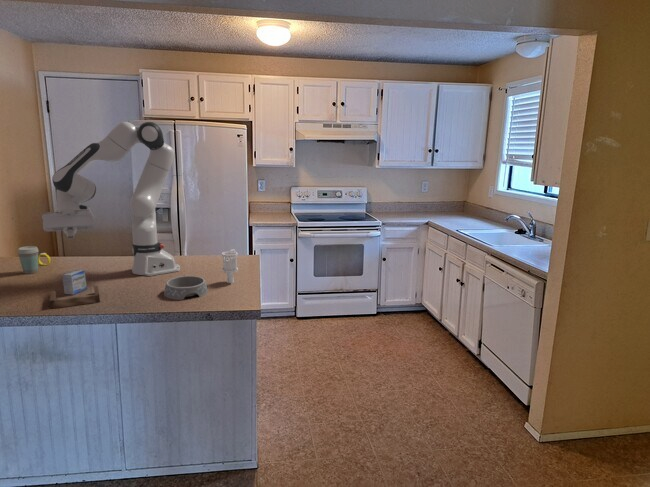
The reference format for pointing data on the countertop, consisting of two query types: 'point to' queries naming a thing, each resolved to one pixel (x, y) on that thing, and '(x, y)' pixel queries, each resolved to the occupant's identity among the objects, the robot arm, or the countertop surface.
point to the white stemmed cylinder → (230, 264)
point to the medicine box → (74, 282)
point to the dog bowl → (185, 287)
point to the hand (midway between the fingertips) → (70, 237)
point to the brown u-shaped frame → (74, 299)
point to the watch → (46, 256)
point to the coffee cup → (29, 259)
